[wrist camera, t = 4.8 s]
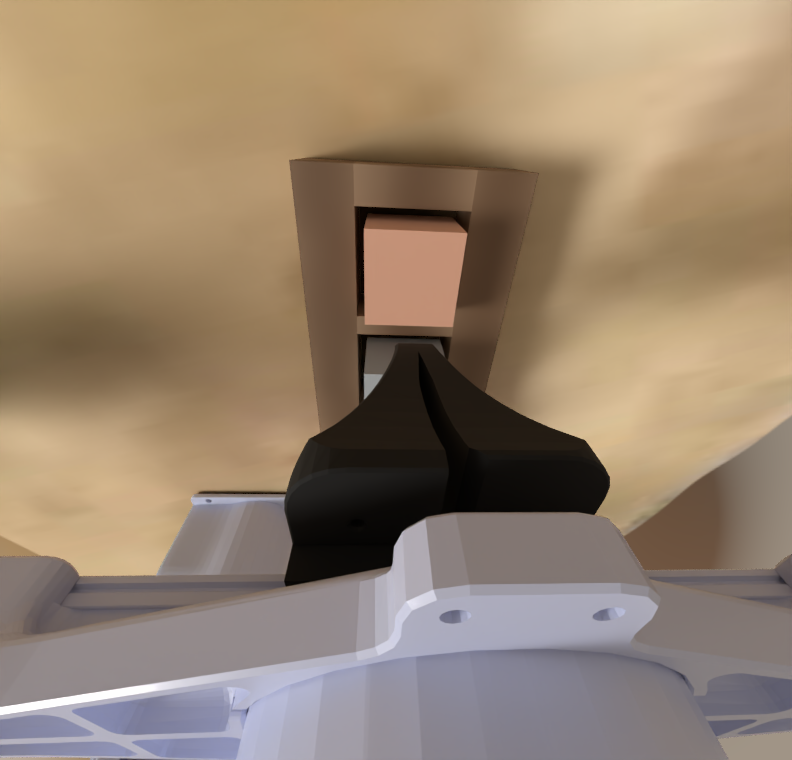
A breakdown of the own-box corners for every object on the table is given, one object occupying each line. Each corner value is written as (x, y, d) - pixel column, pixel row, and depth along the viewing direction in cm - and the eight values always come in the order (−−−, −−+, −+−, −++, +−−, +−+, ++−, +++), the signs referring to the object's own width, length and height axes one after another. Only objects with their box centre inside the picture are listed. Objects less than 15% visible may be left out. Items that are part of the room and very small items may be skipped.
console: (332, 453, 27) (326, 486, 24) (305, 158, 16) (289, 160, 13) (454, 454, 28) (461, 487, 25) (513, 169, 16) (538, 173, 14)
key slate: (367, 395, 21) (364, 437, 18) (367, 337, 18) (363, 373, 15) (432, 396, 21) (440, 437, 18) (439, 339, 18) (450, 375, 16)
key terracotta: (367, 295, 18) (364, 324, 15) (367, 213, 16) (363, 228, 13) (441, 297, 18) (452, 327, 15) (452, 217, 16) (467, 233, 13)
